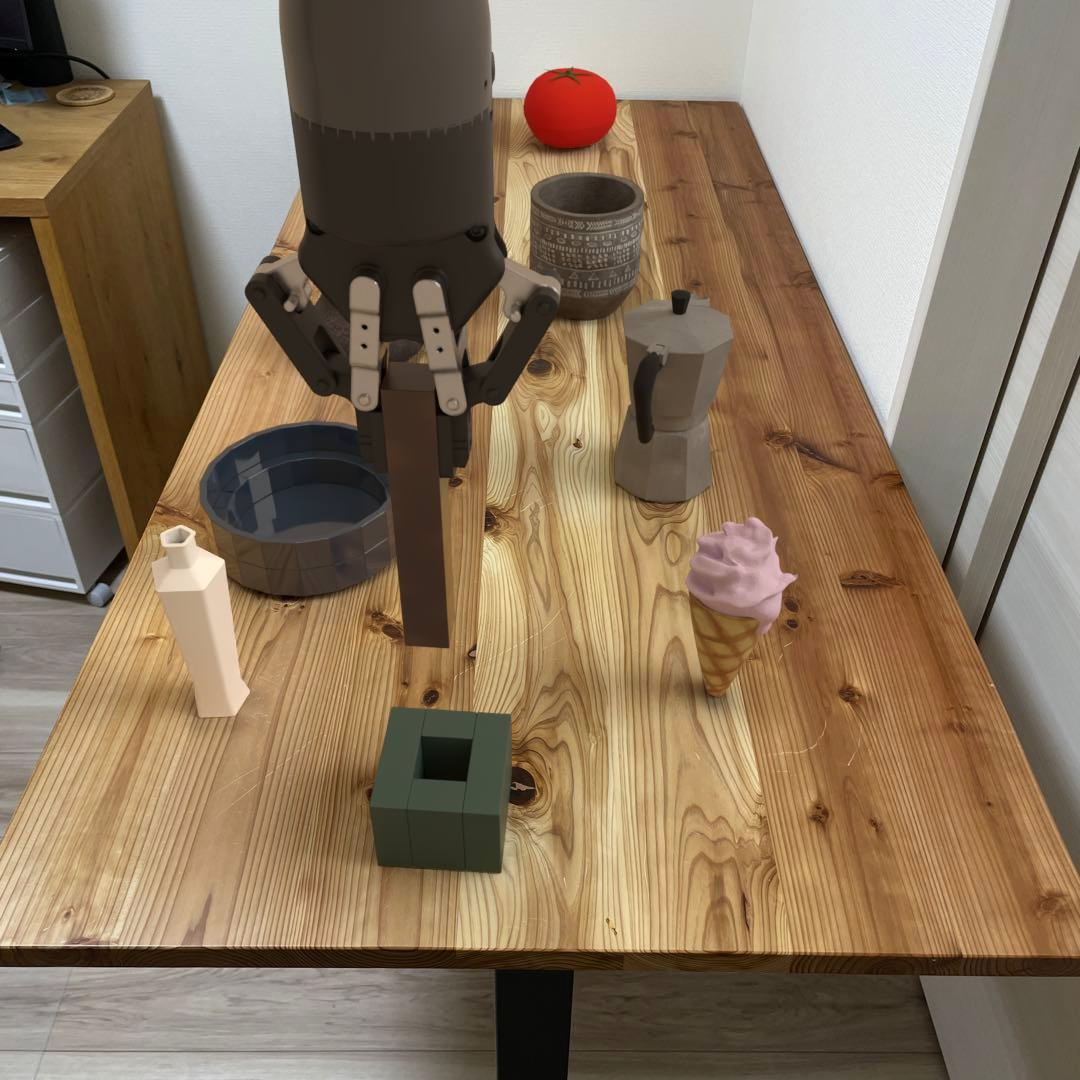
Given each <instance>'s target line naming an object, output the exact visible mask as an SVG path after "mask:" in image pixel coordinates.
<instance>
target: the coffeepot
mask: <svg viewBox="0 0 1080 1080" xmlns="http://www.w3.org/2000/svg"><path fill="white" fill-rule="evenodd" d="M670 297H671V299H650V300H648V301H647V302H644V303H643V304H640V305H638V306H636V307H634V308H631V309H630V310H627V311H626V312H623V313H622V319H623V320H622V321H623V333H624V334H623V335H624V343H625V344H624V345H625V355H626V368H627V369H626V370H627V381H628V393H629V401H630V404H629V405H628V406H627V409H626V413H625V418H624V421H623V425H622V428H621V431H620V435H619V438H618V443H617V446H616V450H615V453H614V457H613V461H614V465H613V466H614V467H613V468H614V483H616V484H617V485H618V486H620V487H621V488H622V489H623V490H624V491H626V492H627V493H628V494H630V495H632V496H634V497H635V498H638V499H640V500H641V499H642V500H644V501H647V502H653V503H661V504H674V503H681V502H687V501H689V500H693V499H694V498H696V497H698V496H699V495H701V494H702V493H704V492H705V490H706V489H707V488H708V487H710V486H712V485H713V478H712V458H711V439H710V421H709V406H711V405H712V404H713V403H714V402H715V399H716V396H717V393H718V389H719V387H720V383H721V380H722V377H723V375H724V370H725V367H726V365H727V361H728V357H729V355H730V351H731V348H732V345H733V342H734V340H735V339H734V337H735V336H734V332H733V329H732V324H731V319H730V316H729V315H728V314H726V313H724V312H721V311H719V310H717V309H715V308H713V307H711V303H710V301H711V300H710V297H708V296H702V297H700V296H699V295H698V294H695V293H691V292H690V291H688V290H686V289H674V290H672V291H670Z"/></svg>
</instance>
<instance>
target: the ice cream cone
mask: <svg viewBox="0 0 1080 1080" xmlns="http://www.w3.org/2000/svg"><path fill="white" fill-rule="evenodd" d="M721 526H722V530H719V531H712V532H708V533H706V534H703V535H700V536H698V537H696V538H695V539H696V540H695V542H696V544H697V545H698V549H697V551H696V552H695V554H694V555H692V556H691V558H690V559H689V562H688V563H689V564H688V565H689V567H690V570H689V571H688V573H687V575H686V578H685V586H686V588H687V591H688V600H689V601H688V602H689V610H690V619H691V625H692V632H693V637H694V643H695V647H696V652H697V656H698V661H699V665H700V669H701V673H702V677H703V681H704V686H705V689H706V690H705V691H706V692H707V693H708V694H709V695H710V696H711V697H715V698H720V697H722V696H724V695H725V694H726V692H727V691H728V690H729V688H730V687H731V685H732V683H733V682H734V680H735V679H736V678H737V676H738V675H739V673H740V671H741V669H742V668H743V666H744V665H745V663H746V662H747V660H748V659H749V657H750V656H751V654H752V652H753V651H754V649H755V648H756V646H757V644H758V642H759V640H760V638H761V637H762V635H765V634H766V633H767V632H768V631H770V629H771V627H772V623H773V622H774V621H776V620H777V619H778V617H779V615H780V613H781V608H782V600H783V591H784V590H785V589H786V588H787V587H788V586H789V585H790V584H791V583H793V582H795V581H796V580H797V579H798V576H799V573H796V574H792V573H789V572H785V573H784V572H783V571H782V570H781V566H780V556H779V555H778V554H777V552H776V544H777V541H778V539H779V536H775V537H774V536H773V532H772V530H771V529H770V528H769V527H768V526H766V525H765V524H764V522H763V521H762V520H760V519H759V518H757V517H754V516H749V517H747V518H746V519H745V523H737V522H732V521H724V522H723V523H722V524H721Z"/></svg>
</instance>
